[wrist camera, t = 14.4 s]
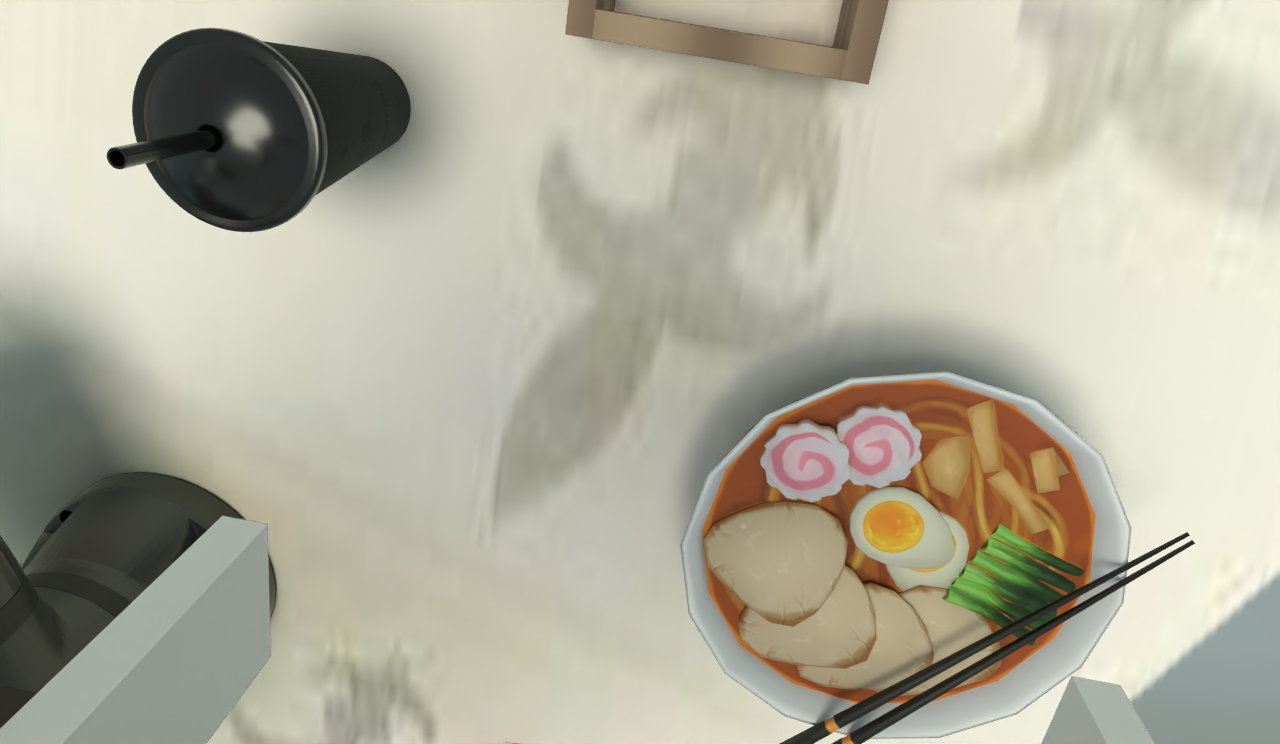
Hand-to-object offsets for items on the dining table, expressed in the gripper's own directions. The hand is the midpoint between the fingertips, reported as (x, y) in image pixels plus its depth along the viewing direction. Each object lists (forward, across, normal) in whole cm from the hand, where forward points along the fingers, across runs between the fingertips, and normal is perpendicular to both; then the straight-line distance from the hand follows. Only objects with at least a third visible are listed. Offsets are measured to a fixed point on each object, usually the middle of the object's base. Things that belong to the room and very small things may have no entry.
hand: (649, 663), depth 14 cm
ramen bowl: (+35, +13, -15) cm, 40 cm away
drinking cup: (+35, -19, +3) cm, 40 cm away
